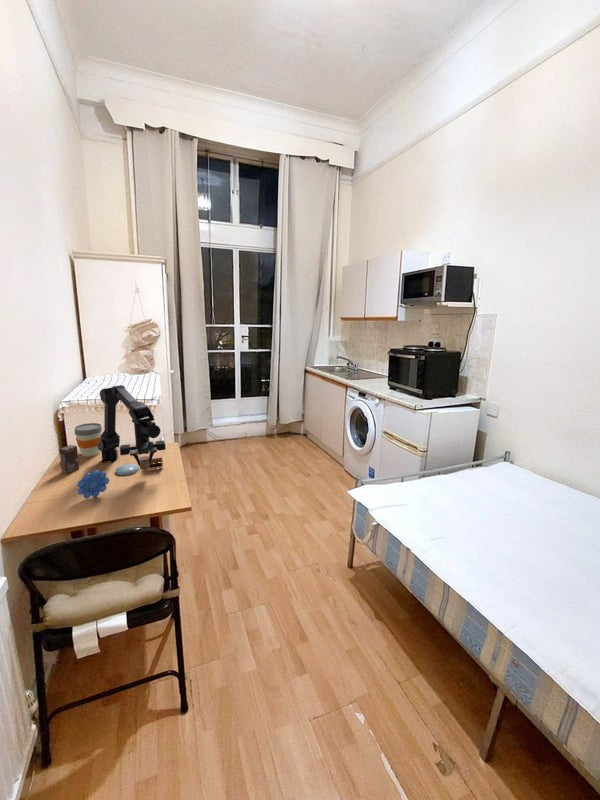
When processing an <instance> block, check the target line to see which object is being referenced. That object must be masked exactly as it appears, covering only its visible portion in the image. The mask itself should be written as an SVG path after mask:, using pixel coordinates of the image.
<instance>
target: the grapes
mask: <svg viewBox="0 0 600 800" xmlns="http://www.w3.org/2000/svg"><path fill="white" fill-rule="evenodd" d="M109 483H110V478H109V477H107V472H106V471H101V472H100V470H98V469H94V470H92V471H91V473H90V472H86V473H85V474H84V475H83V476H82V479H80V480H79V481H78V482H77V487H78V489H77V494H78V495H80V496H81V495H83V496H82V497H83V498H84V499H89V498H90V497H92V498H97V497H99V496H100V493H104V492H105V491H107V488H108V487H107V485H108V484H109Z"/></svg>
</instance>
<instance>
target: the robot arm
mask: <svg viewBox="0 0 600 800" xmlns="http://www.w3.org/2000/svg"><path fill="white" fill-rule="evenodd" d="M99 397H100V400H101V402H102V403H103V405H104V413H103V414H104V416H103V417H104V418H103V419H104V421H103V422H104V423H103V424H104V427H103V432H101V438H100V441H99V443H98V445H97V447H98V450H100V451H101V453H100V454H101V459H102V460H101V461H100V462H101V463H109V462H110V463H111V462H116V461H117V460H118V457H119V455H120V456H126V455H129V456H131V457H134V459H135V461H136V463H137V465H138V466H139V467H140V462H139V457H140V456H141V455H146V454H148V453H149V465H150V464H151V460H152V457H153V455H154V453H156V452H161V451H166V447H167V446H166V442H165V440H155V443H154V441H150V438H151V439H156V438H157V437H159V436H160V435H161V428H160V426H159V425H156V422H155V418H154V414H153V413H152V411H151V409H150V407H149V406H148V405H147V404H145V403H144V402H141V401H138V400H137V399H136V398H135V397H134V396H133V395H132V394H131V393H130V392H129V391H128V390H127V389H126V387H125V386H124V385H122V384H121V385H115V386H112V387H108V388H107V387H106V388H101V390H100V391H99ZM119 402H121V403H122V404H123V405H124V406H125V407H126V408H127V409H128V414H129V416H130V418H131V422H132V423H133V427H134V429H133V430H134V439H135V445H134V446H133V445H132V446H130V445H131V444H130V443H129V444H121V443H120V442H121V438H120V436H121V435H119V434H118V432H117V431H116V424H117V422H116V419H117V416H116V415H117V413H116V412H117V405H118V404H119ZM120 444H121V445H120ZM117 448H119V450H118V449H117Z"/></svg>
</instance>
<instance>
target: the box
mask: <svg viewBox="0 0 600 800" xmlns="http://www.w3.org/2000/svg"><path fill="white" fill-rule="evenodd" d="M58 450H59V456H60V465H61V472H62V473H63V474H64V473H65V474H70V473H72V472H73V473H74V471H77V470H79V469H80V464H79V463H80V462H79V454H78V445H74V444H69V445H66V446H62V447H60V448H59V449H58Z"/></svg>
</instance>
